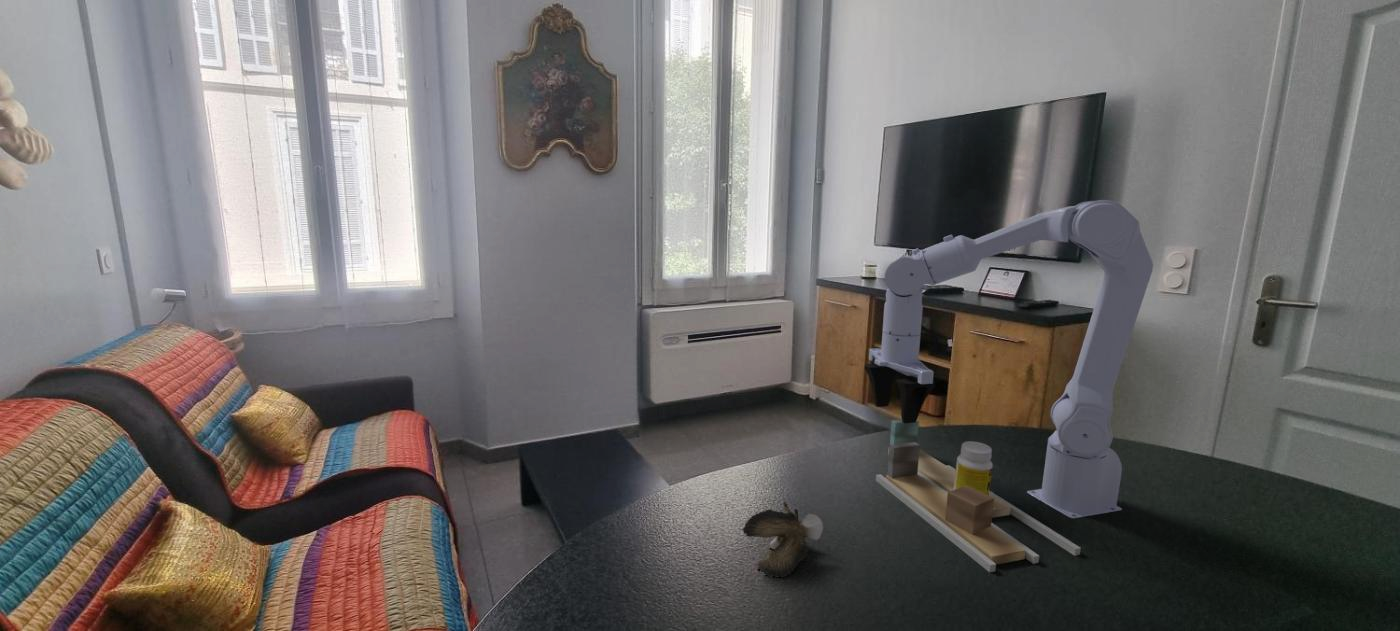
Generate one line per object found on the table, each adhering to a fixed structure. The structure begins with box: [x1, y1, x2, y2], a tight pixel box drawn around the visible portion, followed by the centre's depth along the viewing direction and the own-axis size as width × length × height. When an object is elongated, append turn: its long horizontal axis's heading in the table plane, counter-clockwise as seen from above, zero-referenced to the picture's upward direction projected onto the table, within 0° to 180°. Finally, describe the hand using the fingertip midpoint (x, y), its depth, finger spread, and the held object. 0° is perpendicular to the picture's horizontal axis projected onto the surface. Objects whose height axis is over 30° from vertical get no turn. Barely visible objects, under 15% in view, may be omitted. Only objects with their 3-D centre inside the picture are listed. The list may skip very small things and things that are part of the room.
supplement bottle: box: [953, 440, 993, 495], centre depth 84 cm, size 5×5×8 cm
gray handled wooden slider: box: [885, 442, 1026, 565], centre depth 79 cm, size 5×22×6 cm, turn 16°
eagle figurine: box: [742, 500, 824, 578], centre depth 71 cm, size 8×7×9 cm
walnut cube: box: [945, 485, 994, 535], centre depth 76 cm, size 4×4×4 cm
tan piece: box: [887, 419, 1011, 519], centre depth 90 cm, size 5×22×6 cm, turn 16°
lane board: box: [875, 465, 1081, 573], centre depth 81 cm, size 14×24×2 cm, turn 16°
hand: (894, 413), depth 93 cm, fingers open, 7 cm apart
